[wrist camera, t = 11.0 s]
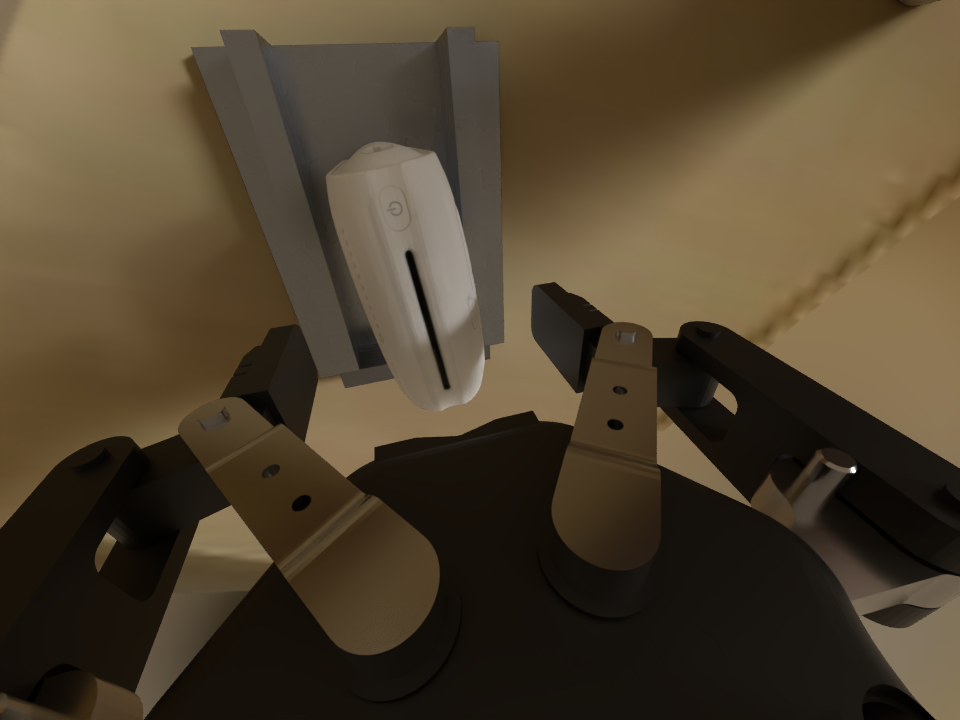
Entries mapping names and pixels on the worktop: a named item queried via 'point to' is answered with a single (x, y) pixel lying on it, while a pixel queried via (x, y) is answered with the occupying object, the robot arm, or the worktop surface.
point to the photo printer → (411, 269)
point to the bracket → (336, 137)
